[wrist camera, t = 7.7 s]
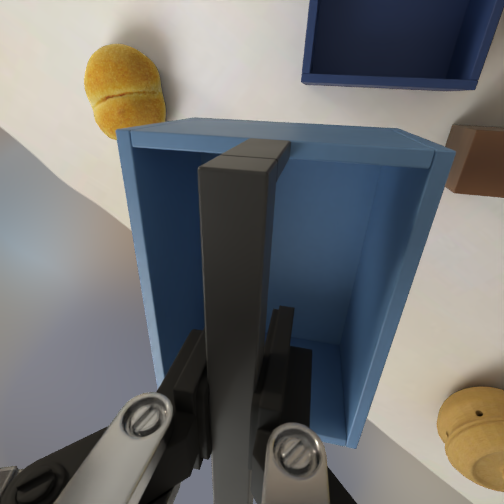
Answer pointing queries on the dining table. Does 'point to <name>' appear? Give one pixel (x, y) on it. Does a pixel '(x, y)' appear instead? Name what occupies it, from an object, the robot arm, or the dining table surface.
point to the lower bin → (399, 43)
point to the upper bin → (278, 258)
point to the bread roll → (123, 89)
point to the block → (477, 160)
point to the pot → (475, 434)
